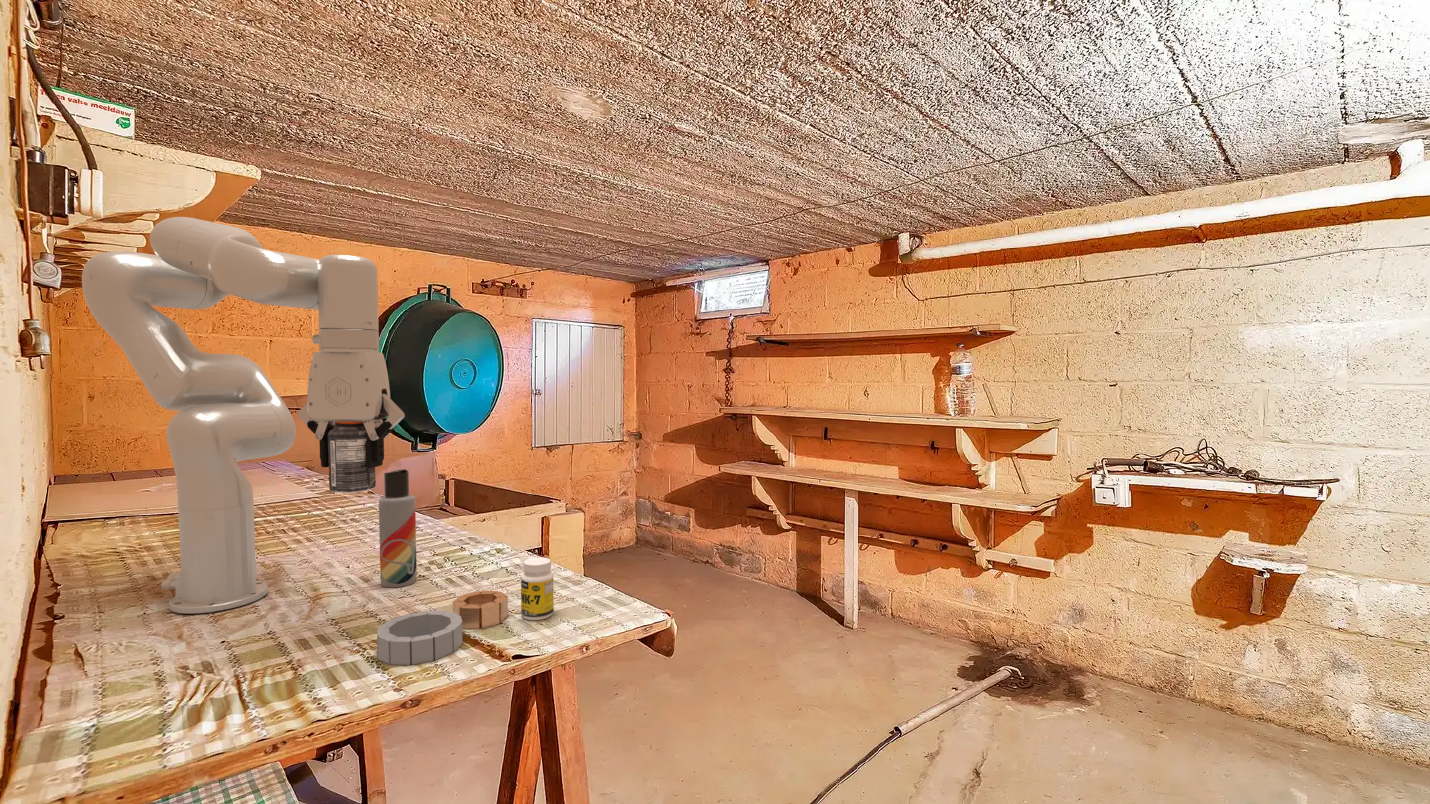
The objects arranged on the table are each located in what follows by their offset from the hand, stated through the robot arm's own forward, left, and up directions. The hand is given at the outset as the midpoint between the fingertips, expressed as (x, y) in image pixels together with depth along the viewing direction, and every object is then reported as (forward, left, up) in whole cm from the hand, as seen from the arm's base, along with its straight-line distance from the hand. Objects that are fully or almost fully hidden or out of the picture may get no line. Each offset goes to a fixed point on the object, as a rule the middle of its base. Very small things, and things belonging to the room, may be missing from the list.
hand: (352, 465), depth 94 cm
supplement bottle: (+26, +4, -24) cm, 35 cm away
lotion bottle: (-3, +17, -24) cm, 29 cm away
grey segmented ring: (+14, -8, -23) cm, 28 cm away
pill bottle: (0, 0, -4) cm, 4 cm away
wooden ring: (+18, +2, -23) cm, 30 cm away
